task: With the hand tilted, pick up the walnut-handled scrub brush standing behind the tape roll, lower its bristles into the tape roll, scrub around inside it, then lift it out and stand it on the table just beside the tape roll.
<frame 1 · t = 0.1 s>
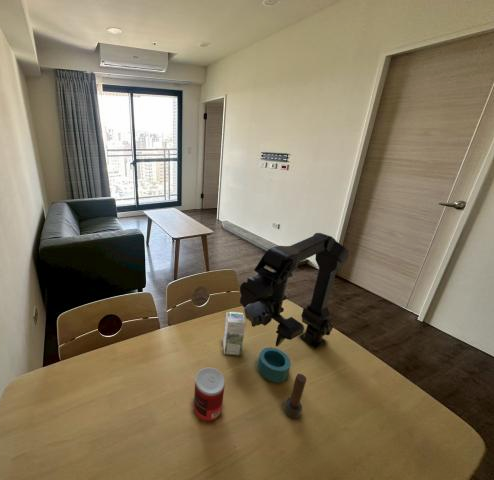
hand: (264, 335, 76), 15 cm above the table, tool pointing down, fingers open, 9 cm apart
canned food: (207, 408, 70), on the table
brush: (291, 411, 69), on the table
syrup box: (231, 349, 90), on the table
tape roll: (272, 369, 82), on the table
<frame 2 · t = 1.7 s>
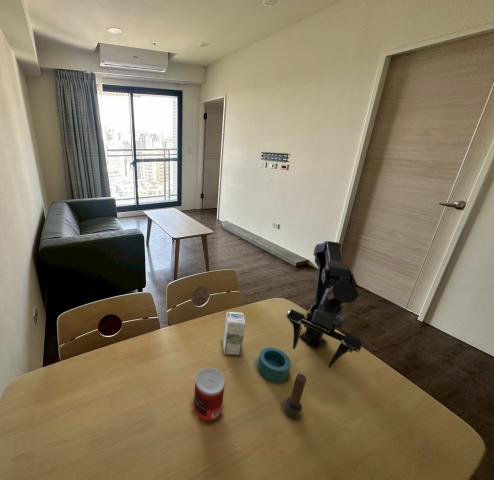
hand: (310, 357, 70), 13 cm above the table, tool tilted 45°, fingers open, 9 cm apart
nothing on the table moved.
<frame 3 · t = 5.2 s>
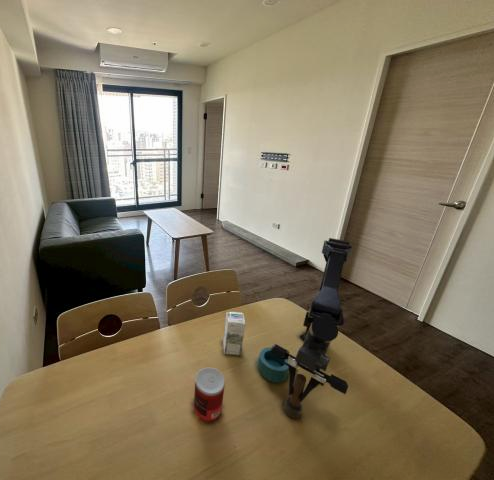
hand: (294, 398, 66), 7 cm above the table, tool tilted 45°, fingers closed on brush, 2 cm apart
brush: (291, 411, 69), on the table, touching gripper
everything else where it was.
when the fingers open (7 cm above the table, at t = 15.1 s): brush stays where it is, on the table.
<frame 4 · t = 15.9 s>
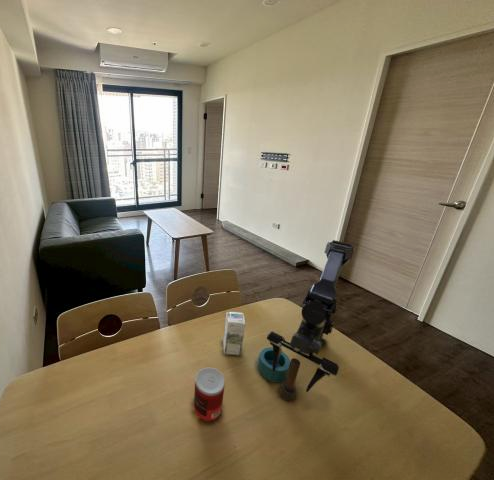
hand: (289, 381, 70), 7 cm above the table, tool tilted 45°, fingers open, 9 cm apart
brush: (287, 394, 74), on the table
everything else where it was.
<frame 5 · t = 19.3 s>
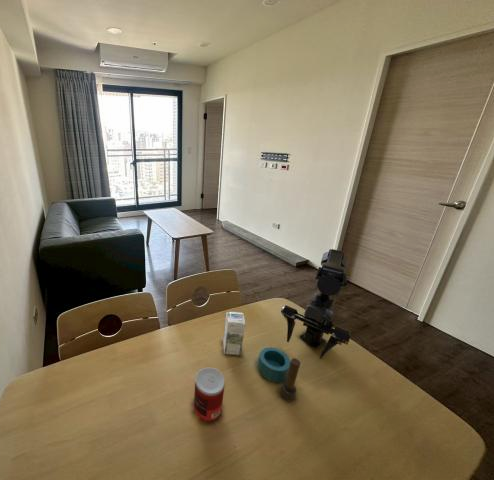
hand: (303, 350, 75), 12 cm above the table, tool tilted 45°, fingers open, 9 cm apart
nothing on the table moved.
at the end: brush 0.1 cm from the target spot, on the table; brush tilted 0°; the gripper is holding nothing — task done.
